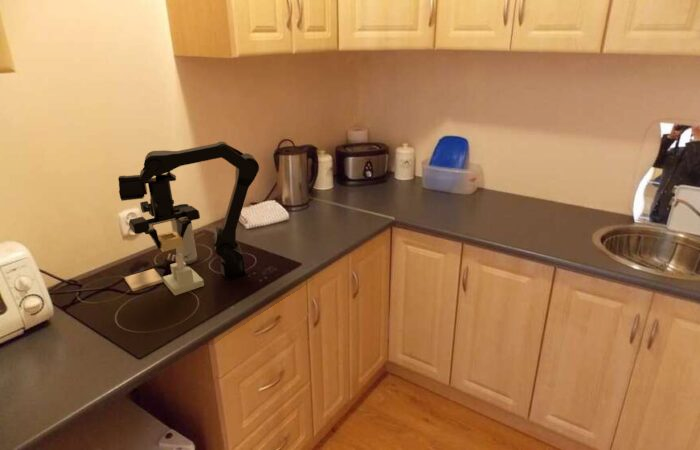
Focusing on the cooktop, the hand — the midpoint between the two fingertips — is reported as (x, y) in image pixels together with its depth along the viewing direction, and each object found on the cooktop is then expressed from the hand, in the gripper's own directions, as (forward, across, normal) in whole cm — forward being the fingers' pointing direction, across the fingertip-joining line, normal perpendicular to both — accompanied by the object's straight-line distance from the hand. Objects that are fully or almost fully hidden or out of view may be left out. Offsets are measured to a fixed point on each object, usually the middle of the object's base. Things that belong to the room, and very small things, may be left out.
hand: (169, 245), depth 138 cm
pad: (+13, +7, -8) cm, 17 cm away
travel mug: (+13, -9, -13) cm, 21 cm away
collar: (0, 0, 0) cm, 0 cm away
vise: (+13, -2, +2) cm, 13 cm away
